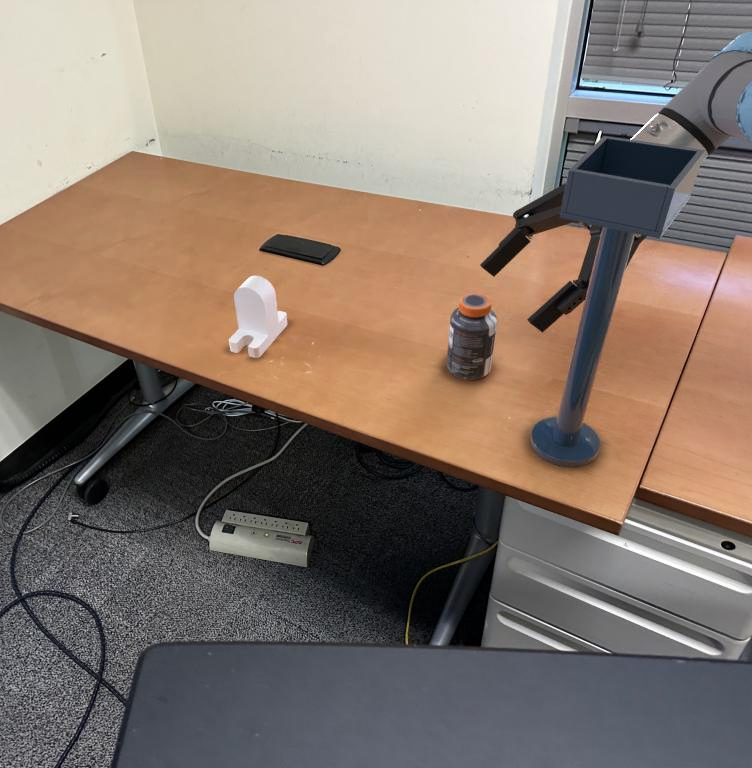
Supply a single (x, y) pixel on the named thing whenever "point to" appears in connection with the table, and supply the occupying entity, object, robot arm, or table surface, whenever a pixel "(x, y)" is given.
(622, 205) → the square tray stand
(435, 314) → the table surface
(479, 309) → the pill bottle
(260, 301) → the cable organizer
